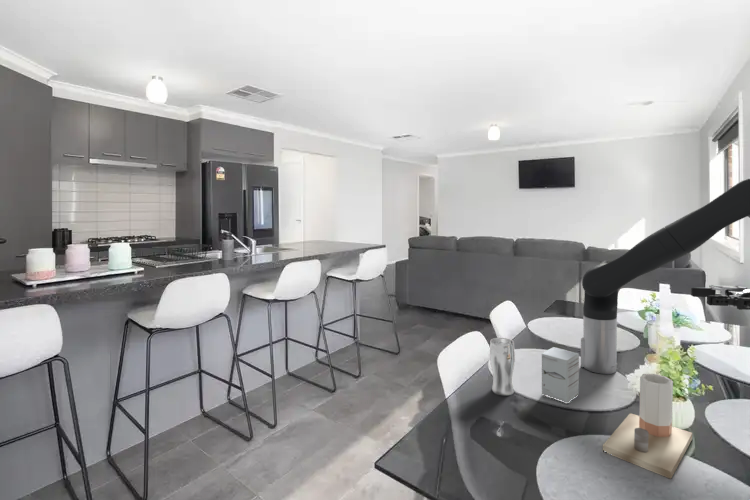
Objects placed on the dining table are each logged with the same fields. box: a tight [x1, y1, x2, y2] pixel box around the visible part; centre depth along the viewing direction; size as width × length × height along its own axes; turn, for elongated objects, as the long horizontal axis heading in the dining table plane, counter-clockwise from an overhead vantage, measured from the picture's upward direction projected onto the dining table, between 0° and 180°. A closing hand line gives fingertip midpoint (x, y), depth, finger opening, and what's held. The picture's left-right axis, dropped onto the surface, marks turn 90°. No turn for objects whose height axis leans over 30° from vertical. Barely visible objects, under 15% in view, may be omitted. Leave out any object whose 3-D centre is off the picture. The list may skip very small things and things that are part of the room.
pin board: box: [602, 412, 693, 480], centre depth 84 cm, size 12×18×6 cm, turn 130°
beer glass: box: [489, 337, 516, 397], centre depth 112 cm, size 7×7×15 cm
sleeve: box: [638, 373, 674, 437], centre depth 87 cm, size 6×6×12 cm
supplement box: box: [541, 346, 580, 402], centre depth 107 cm, size 7×7×13 cm
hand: (699, 296), depth 92 cm, fingers open, 8 cm apart
